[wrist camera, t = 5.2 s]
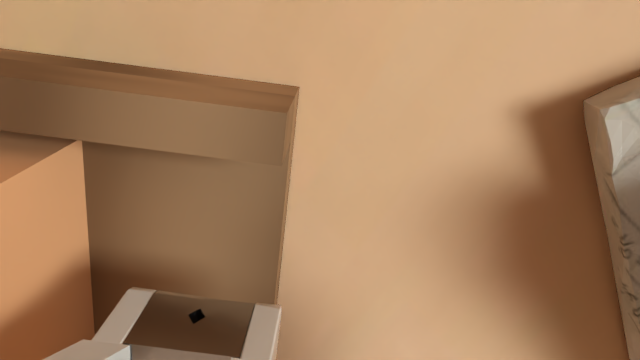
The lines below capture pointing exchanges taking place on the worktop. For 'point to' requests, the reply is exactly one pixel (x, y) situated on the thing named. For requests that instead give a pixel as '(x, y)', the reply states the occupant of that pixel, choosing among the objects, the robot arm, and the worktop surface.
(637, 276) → the packaged product
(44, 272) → the orange block
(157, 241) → the track
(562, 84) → the worktop surface
